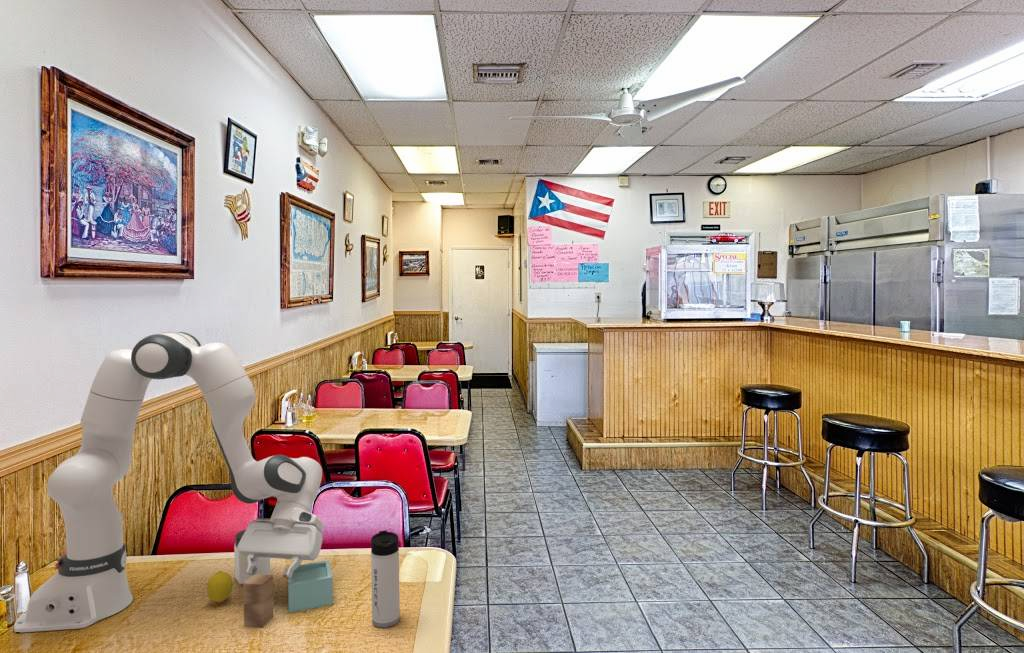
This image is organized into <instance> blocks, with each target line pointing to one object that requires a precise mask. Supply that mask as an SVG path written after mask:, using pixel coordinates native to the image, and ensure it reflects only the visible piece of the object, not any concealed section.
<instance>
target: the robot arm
mask: <svg viewBox="0 0 1024 653" xmlns="http://www.w3.org/2000/svg"><path fill="white" fill-rule="evenodd" d="M184 376H188V377H190V378H191V379H192V380H193V381H194V382H195V384H196V385H197V386H198V389H199V391H200V392H201V394H202V396H203V398H204V400H205V402H206V405H207V407H208V410H209V413H210V417H211V427H212V430H213V433H214V436H215V439H216V441H217V444H218V446H219V450H220V451H221V453H222V456H223V459H224V461H225V464H226V466H227V469H228V472H229V478H230V487H231V491H232V494H233V495H234V496H235V498H236V499H238V501H240V502H242V503H245V504H250V505H251V504H256V503H258V502H260V501H262V500H265V499H267V498H271V497H274V498H275V499H277V502H276V504H275V507H274V509H273V511H272V514H271V516H270V518H260V517H256V518H255V519H253V520H252V521H250V522H249V523H248V525H247V527H246V529H245V530H246V531H245V533H244V534H243V536H242V538H241V540H240V542H239V544H238V546H237V549H238V552H239V553H240V554H242V555H243V556H248V557H247V560H248V565H249V566H248V569H247V571H246V574H248V575H254V574H255V572H256V571H257V568H256V567H255V566H254V561H256V560H257V558H258V557H266V558H270V559H281V560H283V559H284V560H292V563H291V564H290V565H289V566H288V567H289V568H288V567H285V568H284V569H283V572H282V576H283V578H287V579H288V578H291V577H292V574H293V571H294V570H295V569H296V568H297V567H298V566H299V565H302V564H301V563H302V561H315V560H316V559H317V558H318V557H319V554H320V551H321V548H322V544H323V534H322V533H323V532H324V530H325V524H324V523H323V522H322V520H321V519H320V518H319V517H318V516H317V515H316V514H314V513H312V506H313V504H314V503H313V502H314V501H315V500H316V498H317V495H318V492H319V491H320V487H321V483H322V478H323V468H322V466H321V464H320V463H319V462H318V461H317V460H315V459H313V458H311V457H309V456H300V457H298V458H297V457H296V458H295V457H294V458H293V457H289V456H288V455H284V454H276V455H272V456H268V457H266V458H263V459H260V460H258V461H257V460H256V459H254V457H253V456H252V452H251V451H250V448H249V445H248V443H247V441H246V440H247V439H246V438H245V435H244V431H243V430H244V429H243V428H244V426H243V425H244V422H245V420H246V418H247V416H248V415H249V413H250V412H251V411H252V409H253V408H254V405H255V402H256V397H257V396H256V392H255V388H254V387H255V386H254V384H253V382H252V381H251V379H250V377H249V375H248V373H247V371H246V369H245V368H244V366H243V365H242V363H241V362H240V360H239V359H238V357H237V356H236V355H235V353H234V352H233V351H232V350H231V348H230V347H229V346H228V345H227V344H225V343H222V342H209V343H206V344H203V345H202V344H201V342H200V341H199V339H198V338H196V337H195V336H193V335H192V334H190V333H187V332H184V331H164V332H161V333H158V334H156V333H154V334H151V335H148V336H145V337H144V338H142V339H140V340H139V341H138V342H137V343H136V344H135V346H133V348H132V349H130V348H120V349H115V350H113V351H110V352H109V353H108V354H106V356H105V357H104V359H103V360H102V363H101V364H100V366H99V367H98V370H97V372H96V374H95V376H94V379H93V382H92V384H91V387H90V388H89V389H90V390H89V393H88V397H87V399H86V403H85V406H84V407H83V408H84V409H83V411H82V415H81V417H80V426H81V427H82V428H81V429H82V435H81V444H80V447H79V449H78V451H77V452H76V454H74V455H72V456H71V457H69V458H67V459H65V460H64V461H62V462H61V463H60V464H59V465H58V466H56V468H55V469H54V470H53V472H52V473H51V474H50V475H49V477H48V479H47V483H46V491H47V494H48V496H49V497H50V498H51V500H53V501H54V502H55V503H57V505H58V506H59V509H60V513H61V515H62V517H63V518H62V519H63V521H64V527H65V542H66V544H65V545H66V550H65V551H64V552H62V554H61V557H60V558H58V559H57V561H56V563H55V564H54V570H57V572H55V573H54V574H53V575H52V576H51V577H49V578H48V579H47V580H46V581H44V582H43V583H42V584H41V585H40V586H39V587H38V588H36V590H35V591H34V592H32V594H31V595H30V598H29V600H28V603H27V608H26V610H27V612H26V613H24V614H22V613H21V614H22V615H21V614H20V615H19V616H18V617H17V619H16V620H15V622H14V626H13V631H14V632H15V633H16V632H20V633H31V632H47V631H49V632H50V631H60V630H61V631H62V630H75V629H76V630H77V629H84V628H85V629H86V628H88V627H89V626H91V625H93V624H95V623H97V622H98V621H100V620H103V619H105V618H108V617H110V616H114V615H115V614H117V613H119V612H121V611H123V610H124V609H126V608H127V607H128V606H130V604H132V602H133V600H134V596H133V595H132V592H131V590H130V586H129V582H128V579H127V572H126V566H127V551H126V544H125V543H124V533H123V532H124V530H123V529H124V528H123V514H122V512H121V511H120V509H119V508H118V507H117V504H116V501H115V498H114V493H113V491H114V486H115V485H116V484H117V483H118V482H120V481H121V480H122V479H123V478H124V477H125V475H126V474H127V473H128V471H129V469H130V467H131V464H132V459H133V458H132V457H133V456H132V448H133V441H134V433H135V429H136V424H137V422H138V418H139V415H140V411H141V408H142V405H143V403H144V399H145V395H146V392H147V389H148V387H149V385H150V382H151V381H152V380H165V379H166V380H167V379H172V378H176V377H177V378H178V377H179V378H180V377H184Z"/></svg>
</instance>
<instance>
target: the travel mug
mask: <svg viewBox="0 0 1024 653" xmlns="http://www.w3.org/2000/svg"><path fill="white" fill-rule="evenodd" d="M370 544H371V545H370V547H371V548H370V549H371V550H370V556H371V557H370V563H371V565H370V566H371V567H370V568H371V569H370V570H371V575H370V576H371V618H372V620H371V622H372V625H373V626H375V627H378V628H381V629H382V628H384V629H385V628H390V627H392V626H394V625H396V624H397V623H399V621H400V617H401V616H400V615H401V614H400V613H401V612H400V606H401V605H400V604H401V602H400V549H399V535H398V534H396V533H395V532H392V531H387V530H379V531H378V533H376V534H374V535H373V536H372V537H371V539H370Z"/></svg>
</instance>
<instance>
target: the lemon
mask: <svg viewBox="0 0 1024 653" xmlns="http://www.w3.org/2000/svg"><path fill="white" fill-rule="evenodd" d="M206 591H207V596H208V598H209V599H210V600H211V601H213V602H215V603H216V602H217V603H218V604H222V603H223V602H224V601H226V600H227V599H228V598H229V597H230V595H231V594H232V591H233V579H232V577H231V575H230V574H229V573H228V572H226V571H223V570H218V571H217V572H214V573H213V574H212V575H211V576H210V578H209V580H208V581H207V588H206Z"/></svg>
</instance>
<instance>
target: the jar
mask: <svg viewBox="0 0 1024 653" xmlns="http://www.w3.org/2000/svg"><path fill="white" fill-rule="evenodd" d="M245 531H246V529H243V530H241V531H239V532H237V533H236V534H235V536H234V537H235V538H234V547H233V549H234V551H233V552H234V577H235V580H236V581H237V583H238V584H239V585H243V583H244V582H245V581H247V580H248V579H249V578H251V577H252V576H253V575H248V574H246V571H247V569H248V566H249V565H248V560H247V557H248V556H243V555H242V554H240V553H239V552H238V549H237V546H238V544H239V542H240V540H241V538H242V536H243V534H244V533H245ZM254 566H255V567H256V568H257V571H256V572H255V574H262V575H271V558H266V557H258V558H257V560H256V561H254Z"/></svg>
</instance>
